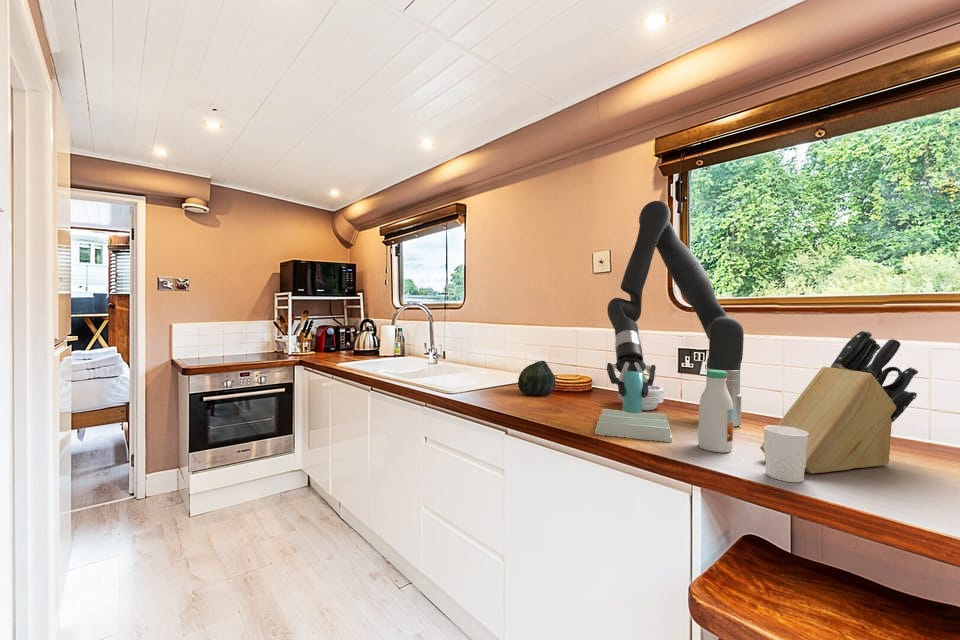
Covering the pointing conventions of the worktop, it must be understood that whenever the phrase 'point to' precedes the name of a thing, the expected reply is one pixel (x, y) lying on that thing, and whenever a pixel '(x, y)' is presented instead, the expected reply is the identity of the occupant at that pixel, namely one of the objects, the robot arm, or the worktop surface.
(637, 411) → the teal rounded upright block
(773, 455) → the white cup
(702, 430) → the milk bottle
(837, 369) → the knife block
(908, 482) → the worktop surface
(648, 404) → the paper bowls
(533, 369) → the squash
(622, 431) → the rack
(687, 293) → the robot arm
